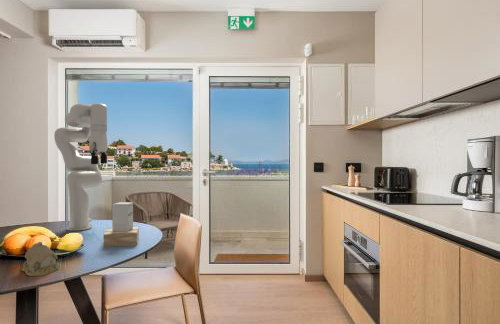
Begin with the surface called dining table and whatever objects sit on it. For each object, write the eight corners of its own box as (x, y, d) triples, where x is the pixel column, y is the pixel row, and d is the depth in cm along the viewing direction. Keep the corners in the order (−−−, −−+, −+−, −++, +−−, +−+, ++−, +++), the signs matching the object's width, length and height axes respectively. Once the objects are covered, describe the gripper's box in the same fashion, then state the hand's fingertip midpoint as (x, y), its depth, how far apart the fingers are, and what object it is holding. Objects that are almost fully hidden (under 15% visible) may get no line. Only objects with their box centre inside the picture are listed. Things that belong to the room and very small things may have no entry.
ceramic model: (66, 269, 127) (66, 241, 127) (34, 278, 117) (34, 248, 117) (44, 263, 134) (44, 236, 134) (12, 271, 124) (12, 243, 124)
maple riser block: (108, 240, 169) (108, 228, 169) (138, 238, 173) (138, 226, 173) (103, 248, 156) (103, 234, 156) (136, 246, 159) (136, 232, 159)
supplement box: (127, 231, 162) (127, 204, 161) (111, 231, 162) (111, 204, 161) (133, 228, 169) (133, 201, 169) (118, 228, 169) (118, 201, 169)
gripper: (99, 130, 183) (99, 163, 183) (82, 128, 166) (82, 164, 166) (113, 130, 183) (114, 163, 183) (98, 127, 165) (98, 164, 166)
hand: (99, 163), depth 175 cm, fingers open, 9 cm apart
